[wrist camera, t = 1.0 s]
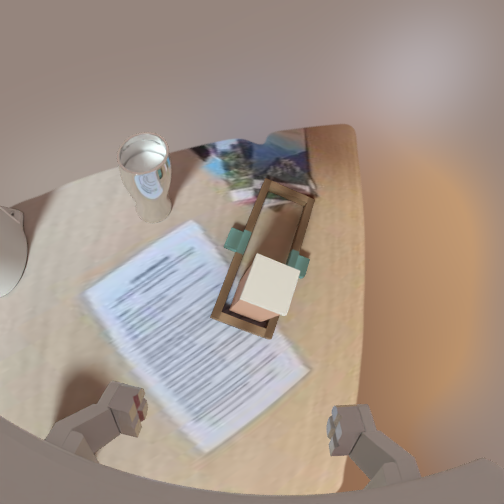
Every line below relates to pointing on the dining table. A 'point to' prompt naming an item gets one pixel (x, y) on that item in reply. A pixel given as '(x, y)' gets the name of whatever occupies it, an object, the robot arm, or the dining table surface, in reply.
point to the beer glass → (147, 174)
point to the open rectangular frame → (238, 245)
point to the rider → (265, 289)
